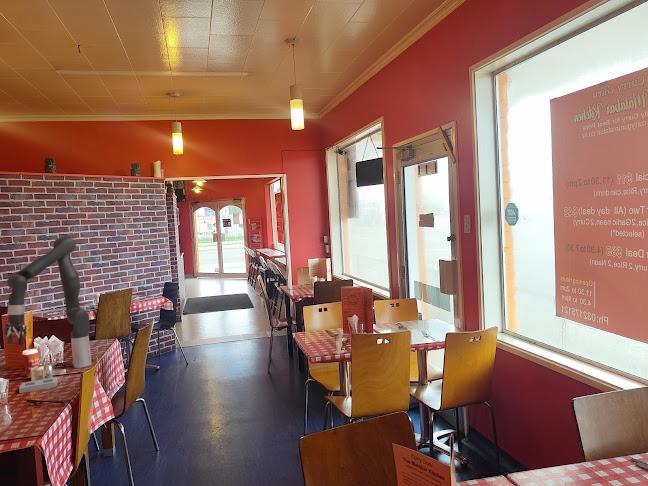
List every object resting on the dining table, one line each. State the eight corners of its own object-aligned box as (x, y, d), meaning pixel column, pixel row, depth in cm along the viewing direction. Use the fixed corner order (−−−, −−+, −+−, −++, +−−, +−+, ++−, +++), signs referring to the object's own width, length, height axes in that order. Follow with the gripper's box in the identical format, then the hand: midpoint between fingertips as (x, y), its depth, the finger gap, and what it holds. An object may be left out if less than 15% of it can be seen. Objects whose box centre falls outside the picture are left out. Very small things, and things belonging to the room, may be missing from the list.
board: (57, 381, 257) (57, 376, 257) (56, 386, 248) (55, 382, 248) (22, 387, 250) (21, 382, 250) (19, 393, 241) (19, 388, 241)
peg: (53, 378, 262) (52, 364, 261) (52, 380, 259) (51, 365, 258) (47, 379, 260) (45, 365, 260) (46, 381, 258) (45, 366, 257)
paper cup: (32, 377, 266) (30, 352, 266) (20, 377, 268) (18, 352, 267) (43, 372, 274) (41, 348, 273) (31, 372, 275) (29, 348, 275)
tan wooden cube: (44, 376, 266) (43, 366, 266) (43, 379, 261) (42, 368, 261) (32, 378, 264) (31, 367, 264) (31, 381, 259) (30, 370, 259)
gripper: (31, 313, 256) (30, 344, 256) (14, 312, 262) (13, 342, 262) (17, 314, 249) (16, 346, 249) (0, 313, 256) (-1, 344, 255)
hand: (15, 344), depth 255 cm, fingers open, 8 cm apart
